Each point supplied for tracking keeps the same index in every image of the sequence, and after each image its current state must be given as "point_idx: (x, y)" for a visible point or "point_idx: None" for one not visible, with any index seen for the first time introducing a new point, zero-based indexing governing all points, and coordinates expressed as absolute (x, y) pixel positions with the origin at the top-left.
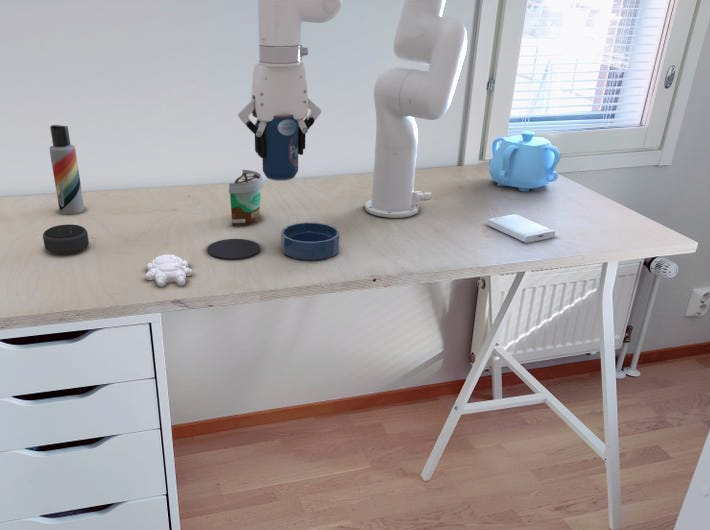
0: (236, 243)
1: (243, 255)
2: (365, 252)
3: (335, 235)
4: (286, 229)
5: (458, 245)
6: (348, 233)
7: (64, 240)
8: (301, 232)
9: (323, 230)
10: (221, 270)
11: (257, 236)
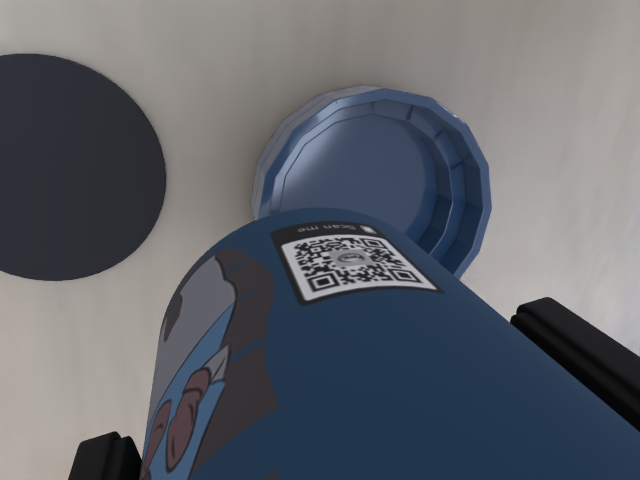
0: (51, 118)
1: (97, 255)
2: (532, 220)
3: (470, 191)
4: (284, 161)
5: None
6: (534, 19)
7: None
8: (348, 109)
9: (439, 122)
10: (24, 365)
11: (147, 6)
